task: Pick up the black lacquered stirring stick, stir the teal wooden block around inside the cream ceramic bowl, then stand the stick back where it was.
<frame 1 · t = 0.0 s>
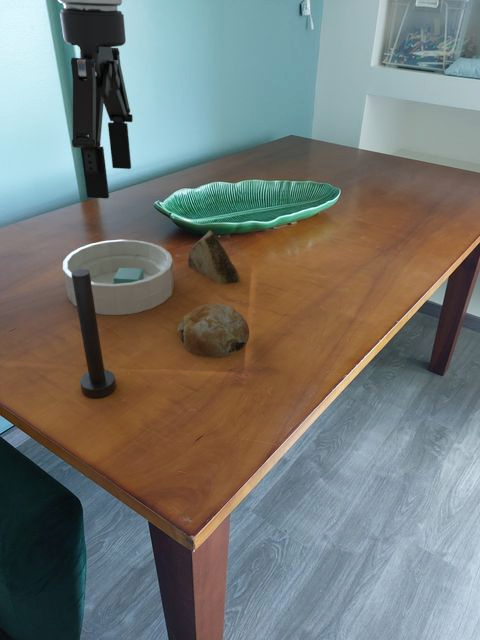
hand: (111, 181, 77), 20 cm above the table, tool pointing down, fingers open, 13 cm apart
bowl: (122, 292, 92), on the table
stirrer: (99, 388, 71), on the table
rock: (213, 277, 99), on the table
block: (130, 294, 90), point 1 cm above the table, touching bowl
bread roll: (212, 343, 81), on the table
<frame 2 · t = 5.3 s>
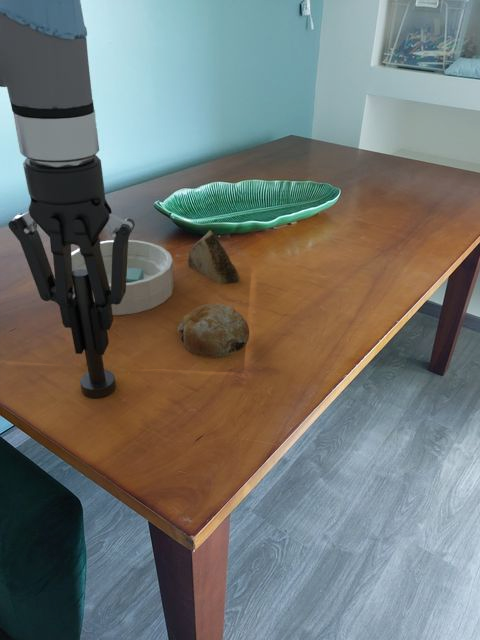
hand: (92, 347, 67), 6 cm above the table, tool pointing down, fingers closed on stirrer, 2 cm apart
stirrer: (99, 388, 71), on the table, touching gripper
everything else where it was.
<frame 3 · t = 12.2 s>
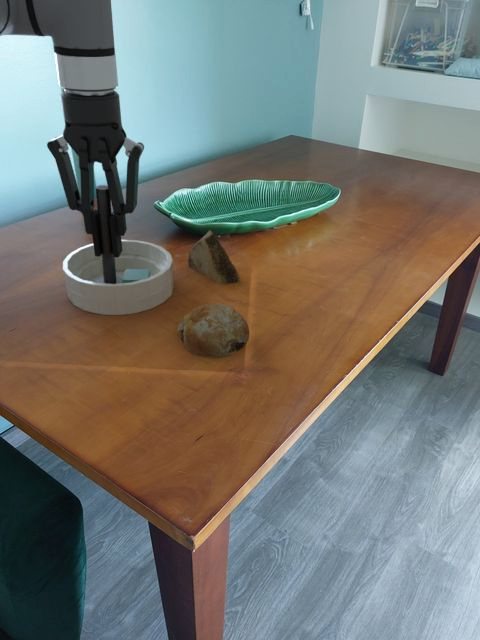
hand: (109, 253, 84), 9 cm above the table, tool pointing down, fingers closed on stirrer, 2 cm apart
stirrer: (110, 289, 88), point 2 cm above the table, touching block, gripper
block: (138, 295, 90), point 1 cm above the table, touching bowl, stirrer
everything else where it was.
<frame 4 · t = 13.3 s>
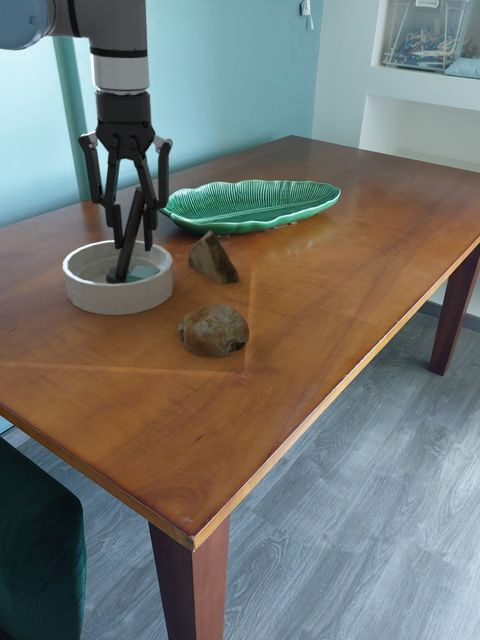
hand: (134, 246, 87), 9 cm above the table, tool pointing down, fingers closed on stirrer, 4 cm apart
stirrer: (118, 281, 90), point 2 cm above the table, tilted 18°, touching block, gripper
block: (145, 293, 91), point 1 cm above the table, touching bowl, stirrer
everything else where it was.
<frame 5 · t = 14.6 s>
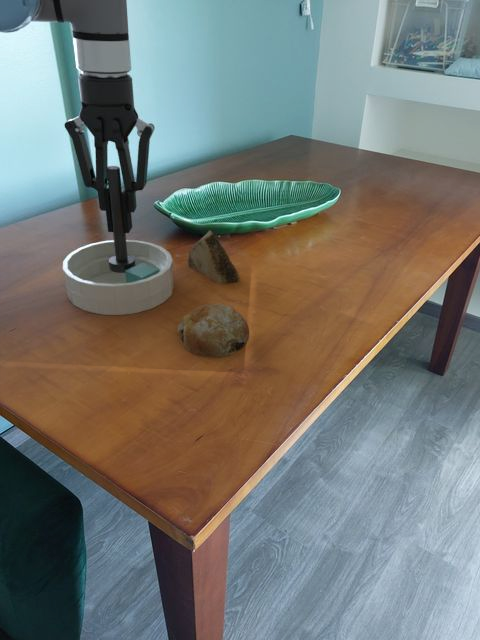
hand: (120, 229, 90), 10 cm above the table, tool pointing down, fingers closed on stirrer, 2 cm apart
stirrer: (122, 267, 93), point 3 cm above the table, touching gripper
block: (144, 291, 91), point 1 cm above the table, touching bowl
everything else where it was.
when the fingers open (7 cm above the table, at t = 22.9 s): stirrer stays where it is, on the table.
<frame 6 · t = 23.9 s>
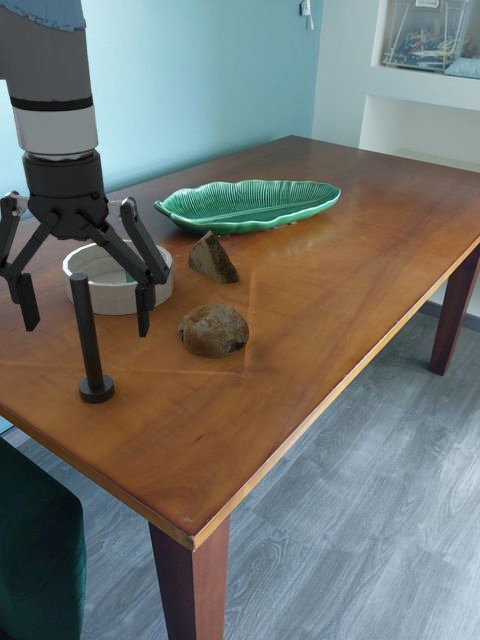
hand: (89, 328, 66), 9 cm above the table, tool pointing down, fingers open, 13 cm apart
stirrer: (97, 392, 70), on the table
everything else where it was.
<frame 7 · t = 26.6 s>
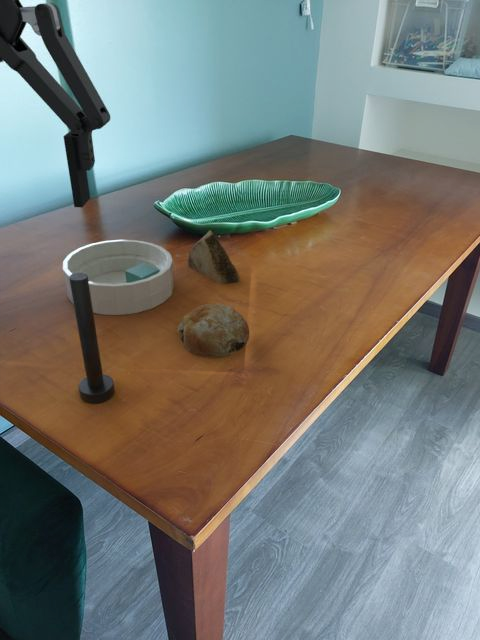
hand: (13, 199, 52), 27 cm above the table, tool pointing down, fingers open, 13 cm apart
nothing on the table moved.
at the end: block moved 2.5 cm from its start; block inside the target area in the bowl (3.9 cm from its centre), point 0.8 cm above the bowl's base; stirrer inside the target area (1.0 cm from its centre), on the table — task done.
